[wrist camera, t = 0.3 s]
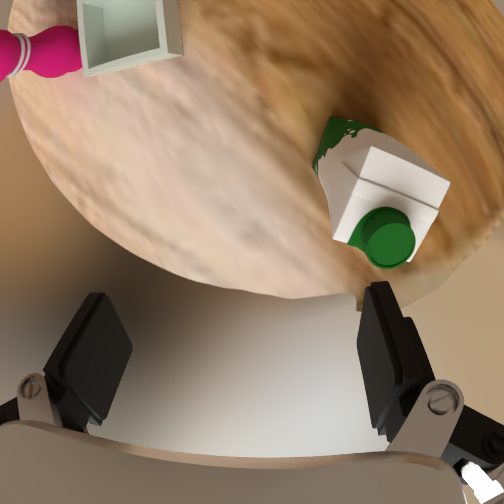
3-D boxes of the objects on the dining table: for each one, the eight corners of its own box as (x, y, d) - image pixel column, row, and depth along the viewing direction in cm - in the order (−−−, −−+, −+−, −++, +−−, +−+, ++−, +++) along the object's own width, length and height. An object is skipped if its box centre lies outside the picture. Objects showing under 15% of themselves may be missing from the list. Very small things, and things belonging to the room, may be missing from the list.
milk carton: (303, 171, 39) (325, 258, 22) (325, 106, 34) (376, 139, 17) (364, 192, 40) (420, 284, 23) (388, 130, 35) (474, 187, 18)
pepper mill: (104, 36, 30) (-6, 34, 13) (80, 82, 33) (-29, 110, 16) (69, 21, 28) (-39, 19, 11) (48, 65, 31) (-59, 87, 14)
